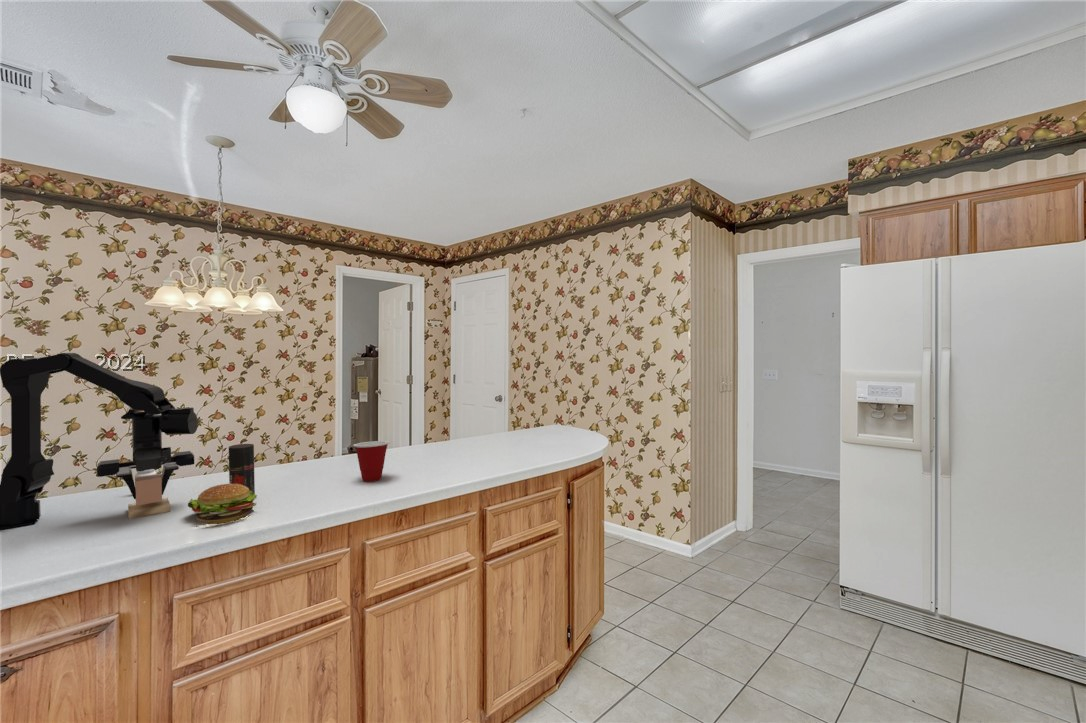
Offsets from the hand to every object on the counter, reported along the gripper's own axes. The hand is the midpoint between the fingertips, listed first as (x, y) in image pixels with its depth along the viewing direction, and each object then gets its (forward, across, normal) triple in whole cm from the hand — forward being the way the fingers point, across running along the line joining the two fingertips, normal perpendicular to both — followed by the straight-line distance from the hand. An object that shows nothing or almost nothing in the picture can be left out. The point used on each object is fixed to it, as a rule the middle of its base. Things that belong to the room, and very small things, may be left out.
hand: (148, 496), depth 121 cm
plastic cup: (+5, +55, -6) cm, 56 cm away
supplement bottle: (+5, 0, +20) cm, 21 cm away
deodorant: (+5, +20, -2) cm, 21 cm away
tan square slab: (+4, 0, 0) cm, 4 cm away
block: (+1, 0, 0) cm, 1 cm away
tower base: (+5, 0, 0) cm, 5 cm away
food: (+5, +14, -14) cm, 20 cm away
